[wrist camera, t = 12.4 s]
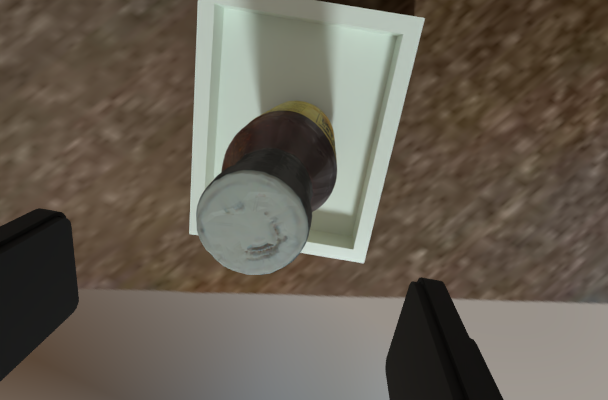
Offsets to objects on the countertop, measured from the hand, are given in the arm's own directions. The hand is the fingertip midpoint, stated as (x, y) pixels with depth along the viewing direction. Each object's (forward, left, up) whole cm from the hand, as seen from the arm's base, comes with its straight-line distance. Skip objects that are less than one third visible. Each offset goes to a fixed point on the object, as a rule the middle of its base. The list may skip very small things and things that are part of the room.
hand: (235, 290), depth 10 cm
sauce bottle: (0, 0, -23) cm, 23 cm away
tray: (+1, 0, -24) cm, 24 cm away
